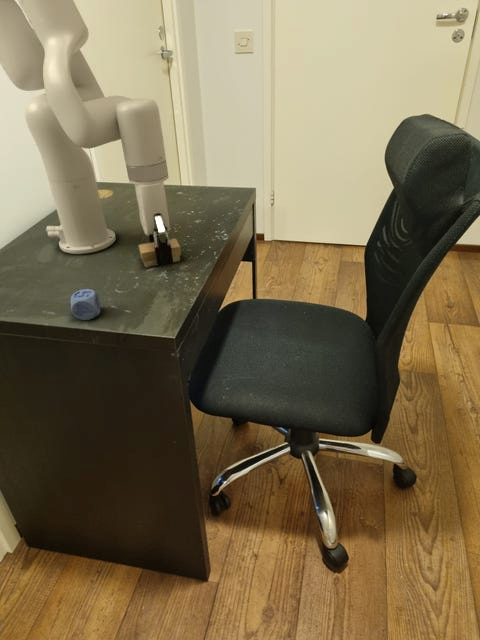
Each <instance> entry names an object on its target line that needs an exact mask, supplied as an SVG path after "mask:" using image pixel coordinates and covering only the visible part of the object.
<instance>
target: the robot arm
mask: <svg viewBox="0 0 480 640" xmlns="http://www.w3.org/2000/svg"><path fill="white" fill-rule="evenodd" d="M89 35H90V33H89V28H88V26H87V24H86V22H85V20H84V19H83V17H82V15H81V13H80V10H79V9H78V7H77V5H76V3H75V1H74V0H17V1H16V0H0V65H1V67H2V69H3V71H4V72H5V74H6V75H7V77H8V78H9V80H10V82H11V83H12V84H13V85H14V86H15V87H16V88H17V89H19V90H21V91H26V92H32V91H33V92H34V91H40V90H44V92H45V93H41V94H39V95H37V96H35V97H33V98H32V99H31V100H30V101H28V103H27V105H26V108H25V113H24V115H25V116H24V117H25V121H26V124H27V128H28V130H29V132H30V134H31V136H32V137H33V140H34V142H35V144H36V147H37V149H38V151H39V154H40V157H41V160H42V162H43V166H44V169H45V173H46V176H47V180H48V183H49V187H50V190H51V194H52V197H53V202H54V205H55V207H56V212H57V216H58V219H59V222H60V223H59V225H47V226H46V227H45V228H46V229H45V230H46V234H47V237H48V238H49V239H50V238H58V239H60V240H59V241H58V246H59V249H60V250H61V251H62V252H64V253H67V254H71V255H72V254H73V255H85V254H91V253H96V252H99V251H102V250H105V249H107V248H109V247H110V246H111V245H113V244H114V243H115V241H116V239H117V237H116V233H115V231H113V230H111V229H110V228H108V227H107V224H106V220H105V215H104V210H103V206H102V202H101V196H100V193H99V188H98V183H97V179H96V174H95V170H94V166H93V162H92V160H91V158H90V155H88V152H87V151H85V149H86V150H87V149H93V148H97V147H100V146H104V145H106V144H109V143H112V142H117V141H119V140H120V141H121V147H122V152H123V157H124V161H125V162H124V163H125V169H126V173H127V178H128V182H129V184H132V185H134V189H135V195H136V201H137V207H138V208H137V209H138V214H139V221H140V224H141V226H142V229H143V232H144V235H146V236H147V237H148V240H149V243H153V242H155V247H154V249H155V254H156V260H157V264H158V265H157V266H165V265H171V264H173V263H174V262H173V257H172V250H171V244H170V242H169V240H170V238H169V234H168V233H169V232H170V231H171V224H170V215H169V209H168V202H167V201H168V200H167V195H166V190H165V183H164V182H165V181H167V180H168V179H169V177H170V176H169V170H168V164H167V157H166V150H165V142H164V136H163V129H162V122H161V114H160V108H159V105H158V103H157V102H156V101H155V100H154V99H152V98H130V97H126V96H123V95H108V96H105V94H104V92H103V90H102V87H101V86H100V85H99V83H98V80H97V79H96V76H95V75H94V73H93V71H92V69H91V68H90V65H89V63H88V61H87V59H86V57H85V56H84V54H83V52H82V50H81V49H82V48H83V47H84V46H85V45H86V43H87V42H88V39H89Z"/></svg>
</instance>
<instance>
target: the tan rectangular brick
mask: <svg viewBox="0 0 480 640" xmlns="http://www.w3.org/2000/svg"><path fill="white" fill-rule="evenodd" d="M169 242H170V244H171V250H172V257H173V263H176V262H181V256H182V250H181V246H180V244H179V241H178V239H177V238H169ZM154 247H155V242H153V243H150V242H147V243H141V244H138V250H139V254H140V257H141V262H142V263H143V266H144V268H148V267H155V266H158V264H157V260H156V254H155V249H154Z"/></svg>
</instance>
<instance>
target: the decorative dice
mask: <svg viewBox="0 0 480 640" xmlns="http://www.w3.org/2000/svg"><path fill="white" fill-rule="evenodd" d="M70 310H71V313H72V315H73V316H74V317H75V318H76V319H78V320H80V321H89V320H92V319H95V318H97V317H98V316H99V315H100V314H101V301H100V296H99V293H98V292H97V291H95V290H93V289H90V288H83V289H79V290H76V291H75V292H73V293H72V295H71V297H70Z"/></svg>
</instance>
